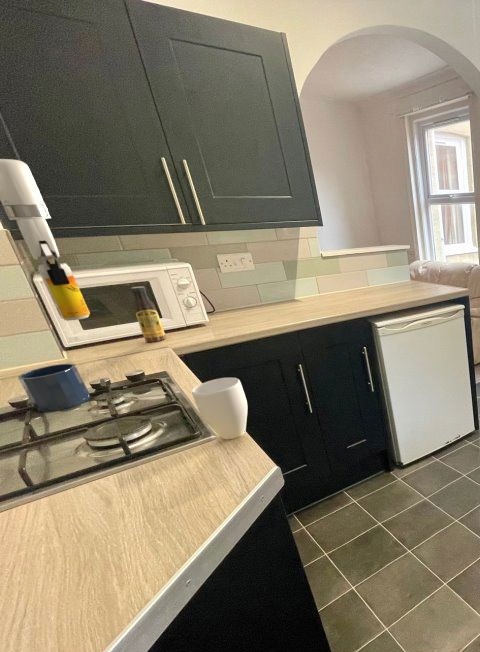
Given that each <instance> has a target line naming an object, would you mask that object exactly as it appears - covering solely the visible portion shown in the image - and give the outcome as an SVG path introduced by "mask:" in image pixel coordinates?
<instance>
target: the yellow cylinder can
mask: <svg viewBox="0 0 480 652" xmlns="http://www.w3.org/2000/svg"><path fill="white" fill-rule="evenodd" d="M59 263H60V265H61V267H62V269H64V271H65V274H66V276H67V278H68V280H69V282H70V283H69V284H65V285H56V286H55V285H53V283H52V281H51V279H50V277H49V275H48V273H47V270H48V269H47V267H46V265H45V264H44V263H43V264H39V265H38V268H37V271H38V273H39V275H40V277H41V279H42V282H43V283H44V286H45V287H46V289H47V292H48V294H49V297H50V298H51V301H52V303H53V304H54V306H55V308H56V311H57V313H58V315H59V317H60V318H61V319H63V320H64V321H67V322H68V321H77V320H84V319H87V318H89V317H90V314H91V312H90V310H89V308H88V306H87V303H86V301H85V299H84V296H83V294H82V292H81V289H80V287H79V285H78V283H77V281H76V279H75V275H74V274H73V272H72V269H71V268H70V266H69V265H68V264H67V263H66V262H59Z"/></svg>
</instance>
